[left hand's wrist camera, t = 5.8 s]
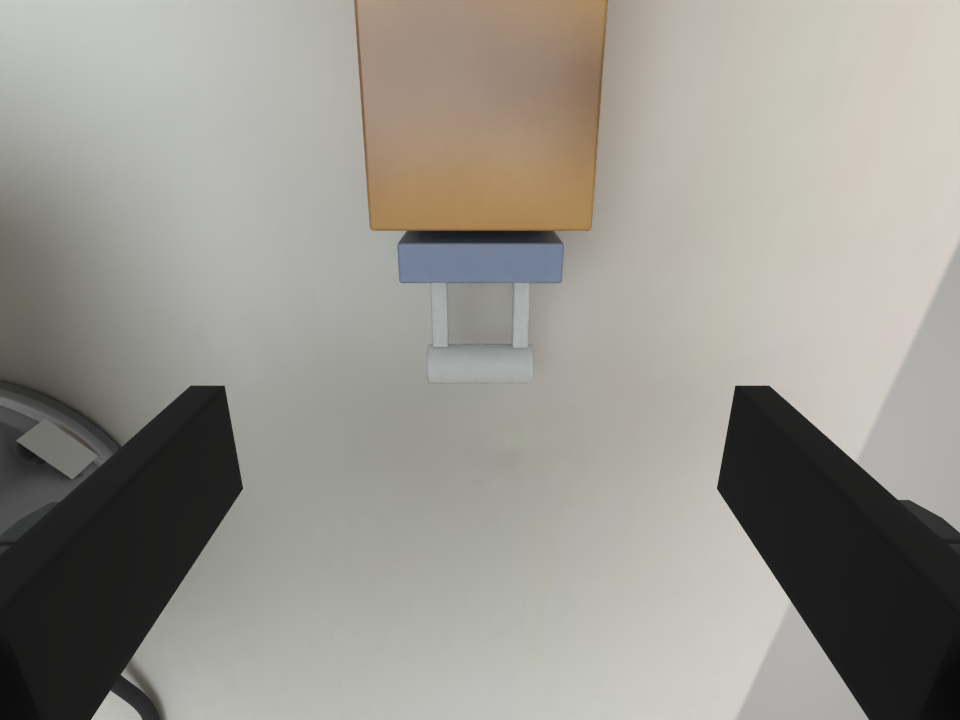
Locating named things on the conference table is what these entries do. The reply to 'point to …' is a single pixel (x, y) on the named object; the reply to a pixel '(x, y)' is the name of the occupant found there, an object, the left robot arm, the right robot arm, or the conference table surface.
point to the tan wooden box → (480, 112)
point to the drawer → (480, 262)
